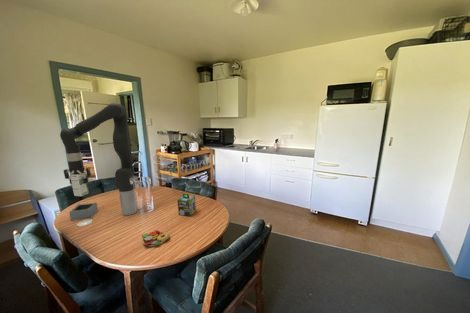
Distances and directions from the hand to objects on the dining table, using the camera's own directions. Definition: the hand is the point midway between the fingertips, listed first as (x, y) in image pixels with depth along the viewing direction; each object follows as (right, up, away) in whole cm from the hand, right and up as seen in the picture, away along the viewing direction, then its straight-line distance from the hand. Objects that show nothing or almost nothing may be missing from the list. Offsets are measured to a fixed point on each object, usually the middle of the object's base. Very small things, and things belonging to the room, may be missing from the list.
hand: (79, 183), depth 127 cm
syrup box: (0, -8, +2) cm, 8 cm away
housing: (-1, -23, +6) cm, 24 cm away
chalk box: (+69, -22, +9) cm, 73 cm away
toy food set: (+59, -29, -21) cm, 69 cm away
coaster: (+7, -25, -4) cm, 26 cm away
